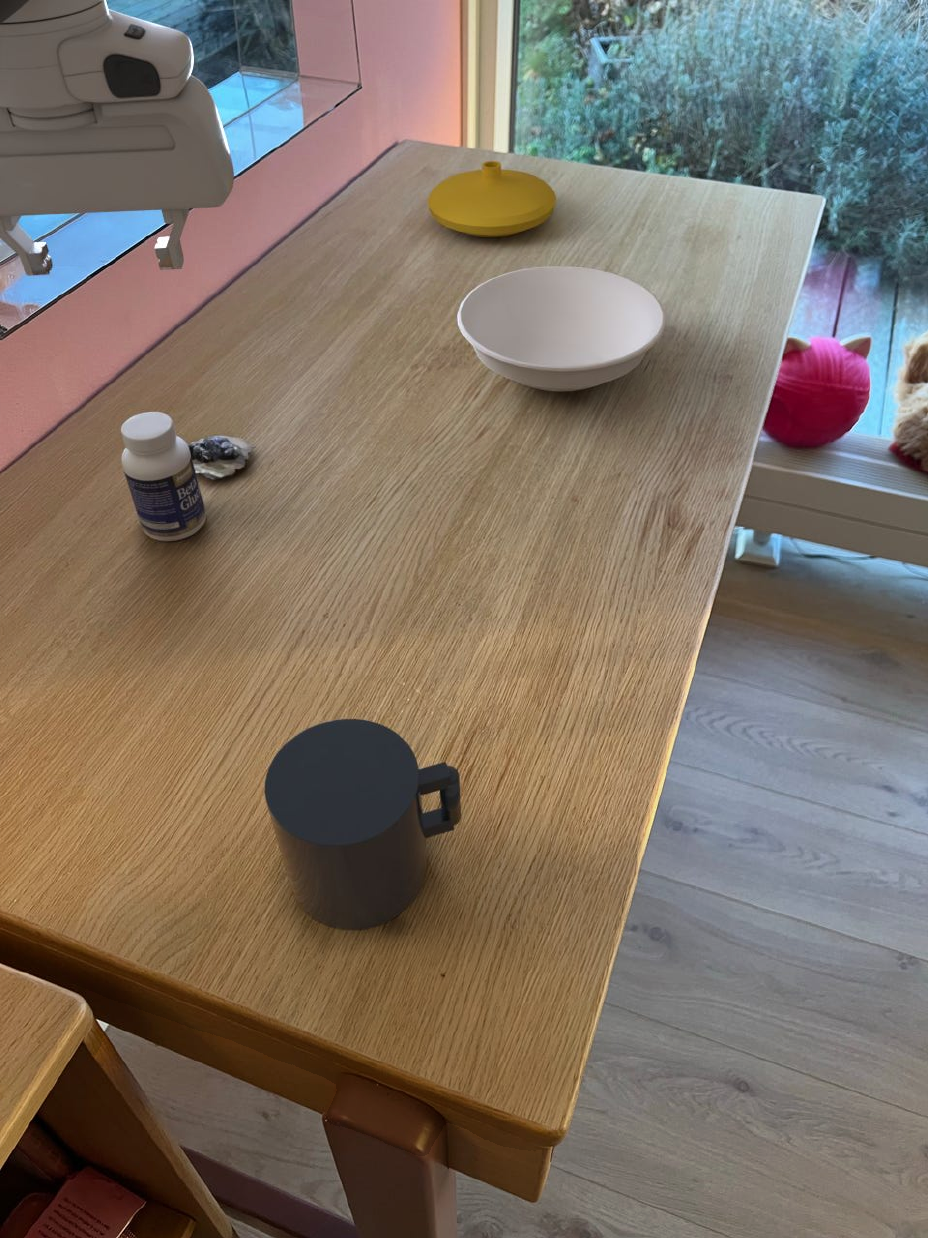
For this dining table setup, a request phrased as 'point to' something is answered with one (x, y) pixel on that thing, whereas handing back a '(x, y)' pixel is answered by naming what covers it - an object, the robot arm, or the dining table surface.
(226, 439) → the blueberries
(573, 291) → the bowl
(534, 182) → the vase
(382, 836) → the mug
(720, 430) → the dining table surface
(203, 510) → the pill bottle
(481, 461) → the dining table surface
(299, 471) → the dining table surface
